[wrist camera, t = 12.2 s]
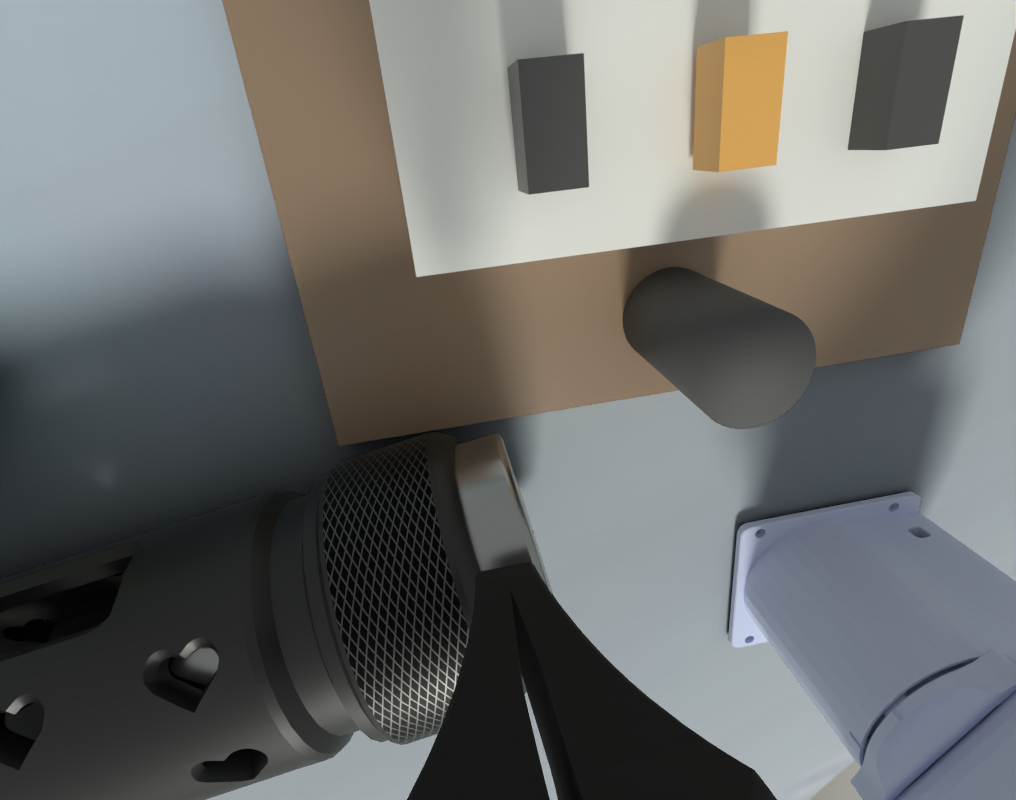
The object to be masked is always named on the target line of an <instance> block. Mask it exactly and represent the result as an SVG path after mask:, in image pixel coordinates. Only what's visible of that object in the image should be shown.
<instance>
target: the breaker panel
mask: <svg viewBox="0 0 1016 800" xmlns="http://www.w3.org/2000/svg"><path fill="white" fill-rule="evenodd" d="M222 2H223V5H224V9H225V13H226V17H227V21H228V25H229V28H230V32H231V36H232V40H233V44H234V48H235V51H236V55H237V59H238V63H239V67H240V70H241V74H242V78H243V82H244V86H245V90H246V93H247V97H248V101H249V105H250V109H251V113H252V116H253V120H254V124H255V128H256V132H257V135H258V139H259V143H260V147H261V151H262V155H263V158H264V162H265V166H266V170H267V174H268V178H269V181H270V185H271V189H272V193H273V197H274V200H275V204H276V208H277V212H278V216H279V220H280V223H281V227H282V231H283V235H284V239H285V243H286V246H287V250H288V254H289V258H290V262H291V266H292V269H293V273H294V277H295V281H296V285H297V288H298V292H299V296H300V300H301V304H302V308H303V311H304V315H305V319H306V323H307V327H308V331H309V334H310V338H311V342H312V346H313V350H314V353H315V357H316V361H317V365H318V369H319V373H320V376H321V380H322V384H323V388H324V392H325V396H326V399H327V403H328V407H329V411H330V415H331V418H332V422H333V426H334V430H335V434H336V438H337V441H338V445H339V446H343V445H349V444H355V443H361V442H367V441H373V440H379V439H385V438H391V437H397V436H404V435H410V434H416V433H422V432H428V431H434V430H440V429H446V428H452V427H458V426H464V425H470V424H476V423H482V422H489V421H495V420H501V419H507V418H513V417H519V416H525V415H531V414H537V413H543V412H549V411H555V410H561V409H568V408H574V407H580V406H586V405H592V404H598V403H604V402H610V401H616V400H622V399H628V398H634V397H640V396H646V395H653V394H659V393H665V392H671V391H677V390H679V389H677V388H676V387H675V386H674V385H673V384H672V383H671V382H670V381H668V380H667V379H666V378H665V377H664V376H663V375H662V374H661V373H660V372H658V371H657V370H656V369H655V368H654V367H653V366H652V365H651V364H650V363H648V362H647V361H646V360H645V359H644V358H643V357H642V356H641V355H639V354H638V353H637V352H636V351H635V350H634V349H633V348H632V347H631V345H630V344H629V343H628V341H627V339H626V336H625V334H624V330H623V312H624V308H625V305H626V302H627V300H628V298H629V296H630V294H631V292H632V291H633V290H634V288H635V287H636V286H637V285H638V284H639V283H640V282H641V281H642V280H643V279H644V278H645V277H647V276H648V275H650V274H651V273H654V272H656V271H658V270H661V269H664V268H668V267H683V268H687V269H690V270H692V271H695V272H697V273H699V274H702V275H704V276H706V277H709V278H711V279H713V280H715V281H718V282H720V283H722V284H725V285H727V286H729V287H732V288H734V289H736V290H738V291H741V292H743V293H745V294H748V295H750V296H752V297H755V298H757V299H759V300H762V301H764V302H766V303H768V304H771V305H773V306H775V307H778V308H780V309H782V310H785V311H787V312H789V313H791V314H793V315H795V316H797V317H798V318H800V319H801V320H802V321H803V322H804V323H805V324H806V325H807V326H808V328H809V329H810V331H811V333H812V335H813V338H814V341H815V346H816V363H815V368H816V367H823V366H829V365H835V364H841V363H847V362H853V361H859V360H865V359H871V358H877V357H883V356H889V355H895V354H901V353H908V352H914V351H920V350H926V349H932V348H938V347H944V346H950V345H956V344H960V340H961V336H962V332H963V328H964V324H965V319H966V315H967V311H968V307H969V303H970V299H971V295H972V291H973V287H974V283H975V279H976V275H977V271H978V267H979V262H980V258H981V254H982V250H983V246H984V242H985V238H986V234H987V230H988V226H989V222H990V218H991V214H992V209H993V205H994V201H995V197H996V193H997V189H998V185H999V181H1000V177H1001V173H1002V169H1003V165H1004V161H1005V156H1006V152H1007V148H1008V144H1009V140H1010V136H1011V132H1012V128H1013V124H1014V120H1015V116H1016V0H222ZM785 31H788V39H787V50H786V61H785V73H784V84H783V95H782V106H781V117H780V128H779V140H778V151H777V162H776V165H773V166H765V167H756V168H748V169H740V170H732V171H724V172H710V171H698V170H693V148H694V117H695V86H696V55H697V47H699V46H702V45H705V44H708V43H711V42H714V41H717V40H719V39H722V38H725V37H734V36H744V35H755V34H765V33H775V32H785Z"/></svg>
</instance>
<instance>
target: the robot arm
mask: <svg viewBox="0 0 1016 800" xmlns="http://www.w3.org/2000/svg"><path fill="white" fill-rule="evenodd" d="M920 504H921V498H920V496H919V495H917V494H916V493H914V492H905V493H899V494H894V495H889V496H884V497H878V498H873V499H868V500H863V501H858V502H852V503H847V504H842V505H837V506H832V507H826V508H821V509H816V510H811V511H806V512H800V513H795V514H790V515H785V516H780V517H774V518H769V519H764V520H759V521H754V522H748V523H745V524H743V525H742V526H740V528H739V529H738V532H737V540H736V552H735V564H734V576H733V588H732V600H731V612H730V624H729V636H728V639H729V642H730V643H731V645H732V646H733V647H735V648H740V647H745V646H750V645H754V644H759V643H764V642H769V643H770V644H771V646H772V647H773V649H774V650H775V651H776V653H777V654H778V655H779V657H780V658H781V660H782V661H783V662H784V664H785V665H786V666H787V668H788V669H789V671H790V672H791V673H792V675H793V676H794V677H795V679H796V680H797V682H798V683H799V684H800V686H801V687H802V688H803V690H804V691H805V693H806V694H807V695H808V697H809V698H810V699H811V701H812V702H813V704H814V705H815V706H816V708H817V709H818V710H819V712H820V713H821V714H822V716H823V717H824V719H825V720H826V721H827V723H828V724H829V725H830V727H831V728H832V730H833V731H834V732H835V734H836V735H837V736H838V738H839V739H840V741H841V742H842V743H843V745H844V746H845V747H846V749H847V750H848V752H849V753H850V754H851V756H852V757H853V758H854V760H855V761H856V763H857V764H858V765H859V767H860V770H859V771H858V772H857V774H856V775H855V776H854V777H853V778H852V779H851V783H852V785H853V786H854V787H855V789H856V791H857V792H858V793H859V795H860V796H861V798H862V799H863V800H1016V581H1014V580H1013V579H1012V578H1010V577H1009V576H1007V575H1006V574H1005V573H1003V572H1002V571H1000V570H999V569H998V568H996V567H995V566H993V565H992V564H991V563H989V562H988V561H986V560H985V559H984V558H982V557H981V556H979V555H978V554H977V553H975V552H974V551H972V550H971V549H970V548H968V547H967V546H965V545H964V544H963V543H961V542H960V541H958V540H957V539H956V538H954V537H953V536H951V535H950V534H949V533H947V532H946V531H944V530H943V529H942V528H940V527H939V526H937V525H936V524H935V523H933V522H932V521H930V520H929V519H928V518H926V517H925V516H923V515H922V514H921V513H919V508H920ZM758 530H760V531H759V532H757V531H758ZM756 532H757V533H756ZM521 673H522V674H521ZM522 677H523V680H524V683H525V687H526V690H527V693H528V697H529V700H530V703H531V706H532V710H533V713H534V716H535V720H536V723H537V726H538V729H539V733H540V736H541V739H542V743H543V746H544V749H545V752H546V756H547V759H548V762H549V765H550V769H551V773H552V777H553V780H554V784H555V788H556V793H557V797H558V800H777V799H776V798H775V796H774V795H773V794H772V792H771V791H770V789H769V788H768V787H767V786H766V784H765V783H764V782H763V780H762V779H761V778H760V776H759V775H758V774H757V773H756V772H755V770H753V769H752V768H750V767H748V766H746V765H745V764H743V763H741V762H740V761H738V760H736V759H735V758H733V757H731V756H730V755H728V754H727V753H725V752H724V751H722V750H720V749H719V748H717V747H716V746H714V745H713V744H711V743H710V742H708V741H707V740H705V739H704V738H702V737H701V736H699V735H698V734H696V733H695V732H694V731H692V730H691V729H689V728H688V727H686V726H685V725H684V724H682V723H681V722H680V721H678V720H677V719H676V718H675V717H673V716H672V715H671V714H669V713H668V712H667V711H665V710H664V709H663V708H662V707H660V706H659V705H658V704H656V703H655V702H654V701H653V700H651V699H650V698H649V697H648V696H646V695H645V694H644V693H643V692H642V691H641V690H640V689H638V688H637V687H636V686H635V685H634V684H633V683H631V682H630V681H629V680H628V679H627V678H626V677H625V676H624V675H623V674H622V673H621V672H620V671H619V670H617V669H616V668H615V667H614V666H613V665H612V664H611V663H610V662H609V661H608V660H607V659H606V658H605V657H604V656H603V655H602V654H601V653H600V651H599V650H598V649H597V648H596V647H595V646H594V645H593V644H592V643H591V642H590V641H589V640H588V638H587V637H586V636H585V635H584V634H583V633H582V632H581V630H580V629H579V628H578V627H577V626H576V624H575V623H574V622H573V621H572V619H571V618H570V617H569V616H568V614H567V613H566V612H565V611H564V610H563V608H562V607H561V606H560V604H559V603H558V602H557V600H556V599H555V597H554V596H553V594H552V593H551V592H550V590H549V589H548V587H547V586H546V584H545V583H544V581H543V579H542V578H541V576H540V574H539V573H538V571H537V569H536V567H535V565H534V564H532V563H530V562H527V563H522V564H517V565H511V566H506V567H501V568H496V569H491V570H485V571H480V572H478V573H477V575H476V576H475V601H474V609H473V616H472V622H471V627H470V632H469V637H468V642H467V646H466V651H465V654H464V658H463V662H462V665H461V669H460V673H459V676H458V680H457V683H456V686H455V689H454V692H453V695H452V698H451V701H450V704H449V707H448V709H447V712H446V715H445V718H444V720H443V723H442V725H441V728H440V730H439V733H438V735H437V737H436V740H435V742H434V745H433V747H432V749H431V752H430V754H429V756H428V758H427V760H426V763H425V765H424V767H423V769H422V771H421V773H420V775H419V777H418V779H417V781H416V783H415V785H414V787H413V789H412V791H411V793H410V795H409V797H408V799H407V800H549V796H548V792H547V788H546V784H545V780H544V776H543V771H542V767H541V763H540V759H539V755H538V751H537V747H536V743H535V738H534V734H533V730H532V726H531V721H530V717H529V713H528V709H527V704H526V700H525V696H524V691H523V683H522Z"/></svg>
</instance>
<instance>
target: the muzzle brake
mask: <svg viewBox="0 0 1016 800" xmlns="http://www.w3.org/2000/svg"><path fill="white" fill-rule="evenodd" d="M527 562H530V563H532V564H534V565H535V567H536V569H537V571H538V573H539V574H540V576H541V578H542V579H543V581H544V583H545V584H546V586H547V587H548V589H549V590H550V592H551V593H552V590H551V587H550V583H549V580H548V577H547V574H546V571H545V567H544V564H543V561H542V558H541V555H540V552H539V548H538V545H537V542H536V539H535V536H534V533H533V530H532V527H531V523H530V520H529V517H528V514H527V511H526V508H525V505H524V502H523V499H522V495H521V492H520V489H519V486H518V483H517V480H516V477H515V474H514V471H513V468H512V465H511V462H510V459H509V456H508V453H507V450H506V447H505V444H504V441H503V439H502V437H501V435H500V434H499V433H492V434H489V435H486V436H483V437H480V438H477V439H474V440H471V441H467V442H464V443H461V444H458V443H457V441H456V439H455V438H454V437H453V436H452V435H448V434H442V433H438V432H431V433H426V434H423V435H420V436H416V437H413V438H410V439H407V440H404V441H401V442H398V443H395V444H392V445H388V446H385V447H382V448H379V449H376V450H373V451H370V452H367V453H364V454H360V455H357V456H354V457H351V458H348V459H345V460H342V461H339V462H337V463H335V464H334V465H333V466H332V467H331V468H330V469H329V470H328V472H327V473H326V474H323V475H321V476H320V477H318V478H317V479H316V480H315V481H314V483H313V485H312V487H311V489H310V491H309V494H308V495H306V496H303V497H302V496H300V495H299V494H297V493H294V492H289V491H282V490H277V491H273V492H270V493H266V494H263V495H260V496H257V497H254V498H251V499H248V500H244V501H241V502H238V503H235V504H232V505H229V506H226V507H223V508H220V509H216V510H213V511H210V512H207V513H204V514H201V515H198V516H195V517H192V518H188V519H185V520H182V521H179V522H176V523H173V524H170V525H167V526H164V527H160V528H157V529H154V530H151V531H148V532H145V533H142V534H139V535H136V536H132V537H129V538H126V539H123V540H120V541H117V542H114V543H111V544H108V545H104V546H101V547H98V548H95V549H92V550H89V551H86V552H83V553H80V554H76V555H73V556H70V557H67V558H64V559H61V560H58V561H55V562H51V563H48V564H45V565H42V566H39V567H36V568H33V569H30V570H27V571H23V572H20V573H17V574H14V575H11V576H8V577H5V578H2V579H0V800H205V799H208V798H211V797H214V796H217V795H220V794H223V793H226V792H229V791H233V790H236V789H239V788H242V787H245V786H248V785H251V784H254V783H257V782H260V781H263V780H266V779H269V778H272V777H275V776H278V775H281V774H284V773H287V772H290V771H293V770H296V769H299V768H302V767H305V766H308V765H312V764H315V763H318V762H321V761H324V760H327V759H329V758H332V757H334V756H335V755H336V754H337V753H338V752H339V751H340V750H341V749H342V748H343V747H344V746H345V745H346V744H347V743H348V742H349V741H350V739H351V737H352V735H353V733H354V732H355V731H358V730H361V731H362V732H363V733H365V734H366V735H367V736H368V737H369V738H370V739H372V740H376V741H380V742H384V741H387V740H390V741H391V742H393V743H397V744H400V745H403V744H408V743H411V742H414V741H417V740H420V739H423V738H426V737H429V736H432V735H435V734H438V733H439V730H440V728H441V725H442V723H443V720H444V718H445V715H446V712H447V709H448V707H449V704H450V701H451V698H452V695H453V692H454V689H455V686H456V683H457V680H458V676H459V673H460V669H461V665H462V662H463V658H464V654H465V651H466V646H467V642H468V637H469V632H470V627H471V622H472V616H473V609H474V601H475V576H476V575H477V573H478V572H480V571H485V570H491V569H496V568H501V567H506V566H511V565H517V564H522V563H527ZM552 594H553V593H552ZM34 619H46V620H49V621H51V622H52V623H53V624H51V623H45V622H39V621H33V620H34ZM521 674H522V673H521ZM522 683H523V691H524V694H525V693H526V691H527V690H526V687H525V683H524V680H523V677H522Z"/></svg>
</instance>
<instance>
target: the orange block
mask: <svg viewBox="0 0 1016 800" xmlns="http://www.w3.org/2000/svg"><path fill="white" fill-rule="evenodd" d="M787 39H788V31H785V32H775V33H765V34H755V35H744V36H734V37H725V38H722V39H719V40H717V41H714V42H711V43H708V44H705V45H702V46H699V47H697V55H696V86H695V117H694V148H693V170H698V171H710V172H724V171H732V170H740V169H748V168H756V167H765V166H773V165H776V162H777V151H778V140H779V128H780V117H781V106H782V95H783V84H784V73H785V61H786V50H787Z"/></svg>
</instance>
